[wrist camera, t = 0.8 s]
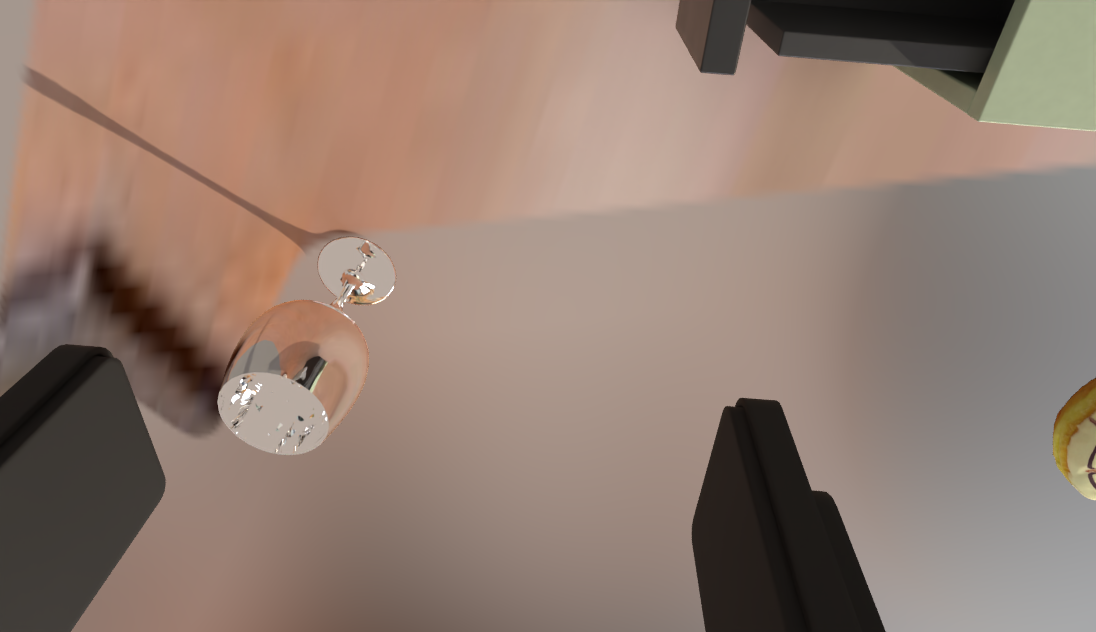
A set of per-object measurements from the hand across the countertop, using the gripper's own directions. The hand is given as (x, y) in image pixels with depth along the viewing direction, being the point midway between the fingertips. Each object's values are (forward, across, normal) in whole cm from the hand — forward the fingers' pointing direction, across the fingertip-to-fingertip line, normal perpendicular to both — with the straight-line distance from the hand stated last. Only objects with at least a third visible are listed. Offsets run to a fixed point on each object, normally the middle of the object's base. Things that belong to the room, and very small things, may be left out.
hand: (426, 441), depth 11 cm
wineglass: (+25, +10, +12) cm, 29 cm away
